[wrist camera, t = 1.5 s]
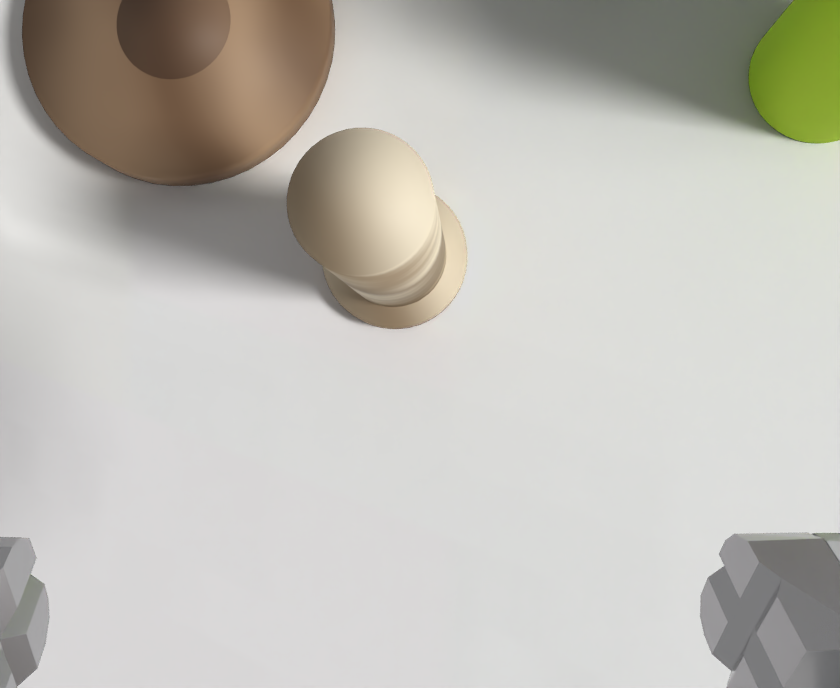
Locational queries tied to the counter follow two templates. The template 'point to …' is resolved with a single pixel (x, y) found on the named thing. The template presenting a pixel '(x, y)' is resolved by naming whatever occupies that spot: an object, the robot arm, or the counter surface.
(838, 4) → the soap dispenser
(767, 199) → the counter surface
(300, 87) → the base
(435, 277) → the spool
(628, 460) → the counter surface
